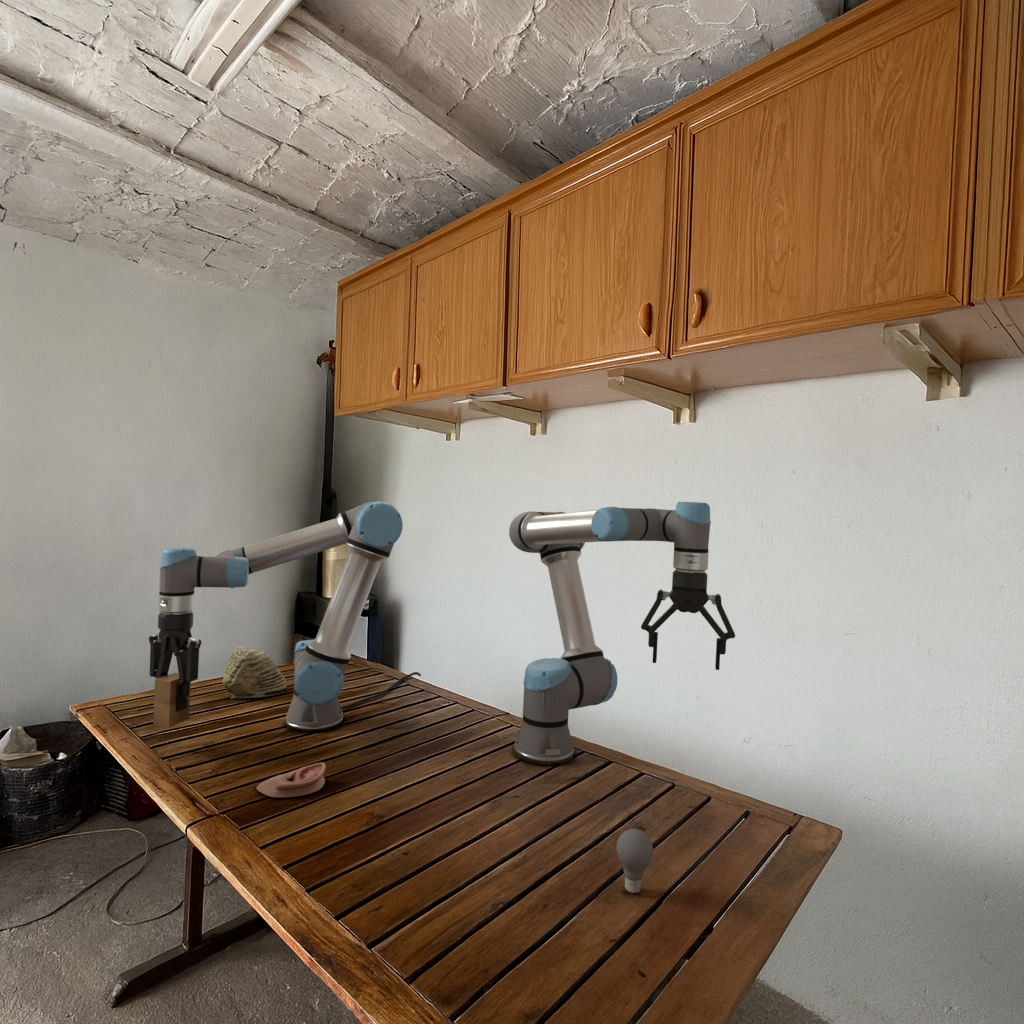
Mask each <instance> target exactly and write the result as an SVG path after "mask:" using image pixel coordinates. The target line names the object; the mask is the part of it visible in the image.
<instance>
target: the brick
mask: <svg viewBox="0 0 1024 1024" xmlns="http://www.w3.org/2000/svg"><path fill="white" fill-rule="evenodd" d="M185 678H186V677H185ZM178 682H180V680H179V673H178V672H172V673H168V675H166V676H163V677H159V678H154V692H153V693H154V697H153V719H152V720H153V721H152V722H153V723H152V724H153V726H159V727H164V728H171V727H174V726H176V725H178V724H180V723H183V722H185V721H188V720H189V719H190V707H191V706H190V702H191V693H190V694H189V696H188V697H187V708H186V709H183V710H181V711H176V693H177V684H178Z"/></svg>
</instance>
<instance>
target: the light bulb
mask: <svg viewBox="0 0 1024 1024" xmlns="http://www.w3.org/2000/svg"><path fill="white" fill-rule="evenodd" d="M615 849H616V854H617V857H618V859H619V861H620V863H621V865H622V867H623V873H624V874H623V875H624V876H625V878H624V888H625V890H627V891H628V892H630V893H634V894H635V893H639V892H640V891H641V889H642V887H641V886H642V879H643V877H644V875H645V871H646V868H647V867H648V866H649V864H650V863H651V861H652V859H653V855H654V847H653V843H652V841H651V838H649V836H648V835H647V834H646V833H645V832H643V831H642V830H641V829H636V828H629V829H627V830H625V831H623V832H622V833H621V834H620V835H619V837H618V839H617V841H616V847H615Z"/></svg>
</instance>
